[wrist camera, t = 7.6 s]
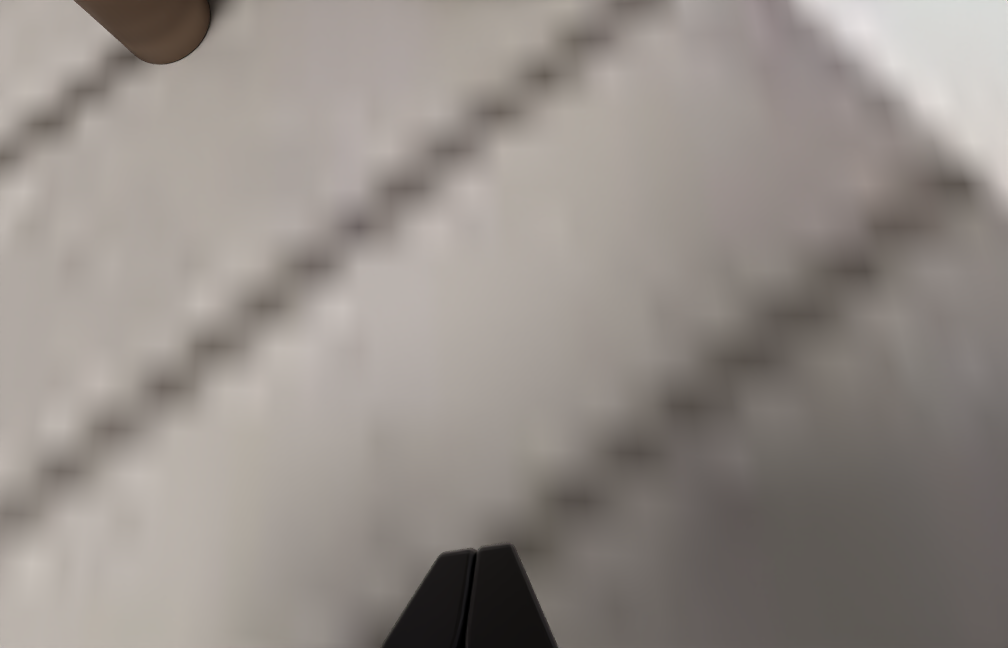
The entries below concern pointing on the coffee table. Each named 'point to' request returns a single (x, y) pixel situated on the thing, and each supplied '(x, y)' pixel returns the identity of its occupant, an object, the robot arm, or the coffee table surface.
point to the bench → (153, 25)
